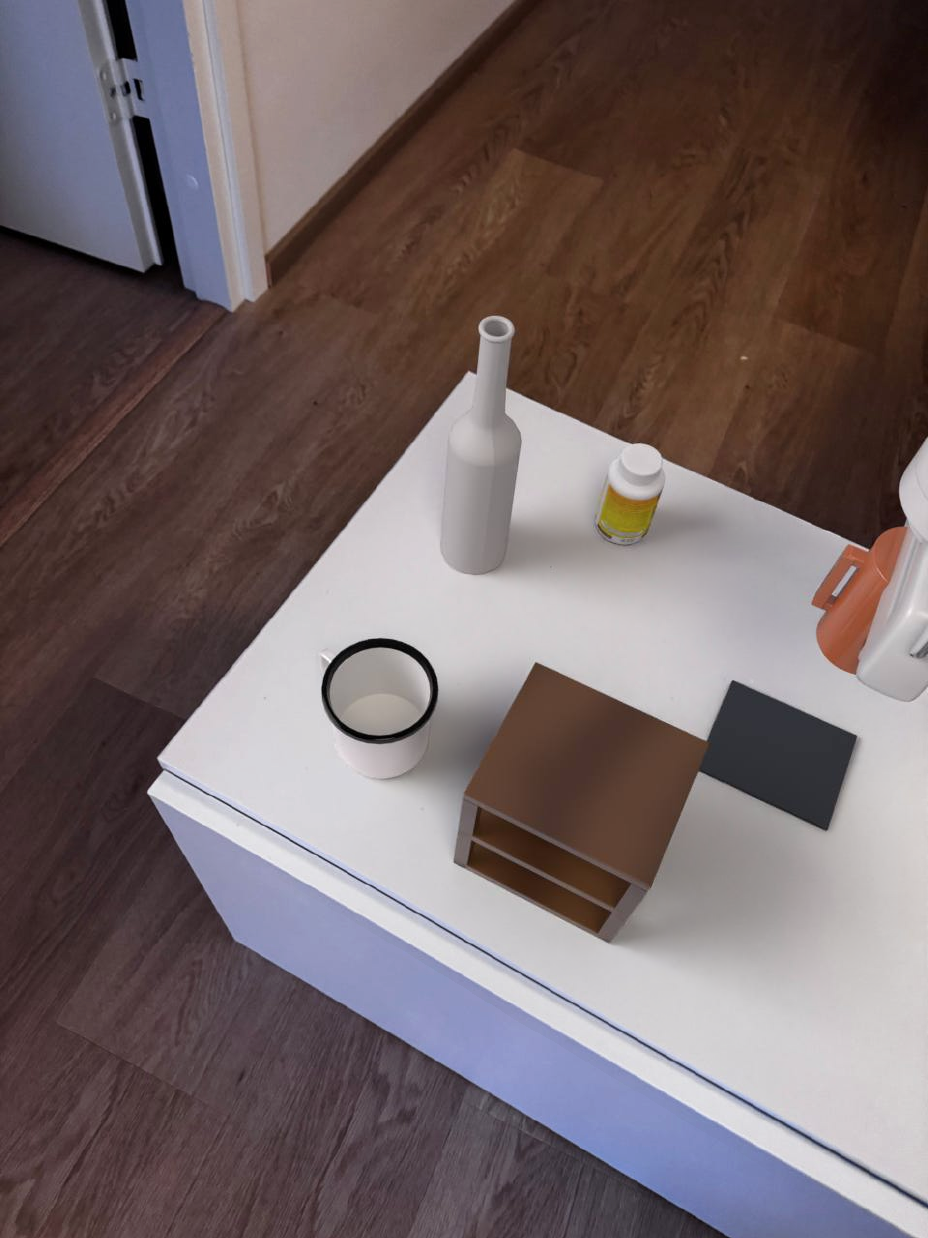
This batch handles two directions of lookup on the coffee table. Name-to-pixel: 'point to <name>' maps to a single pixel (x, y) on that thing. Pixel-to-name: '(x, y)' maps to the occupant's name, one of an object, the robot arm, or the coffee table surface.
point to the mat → (778, 754)
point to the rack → (576, 801)
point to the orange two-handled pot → (855, 598)
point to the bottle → (482, 463)
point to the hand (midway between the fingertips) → (883, 617)
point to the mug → (379, 705)
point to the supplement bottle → (630, 494)
